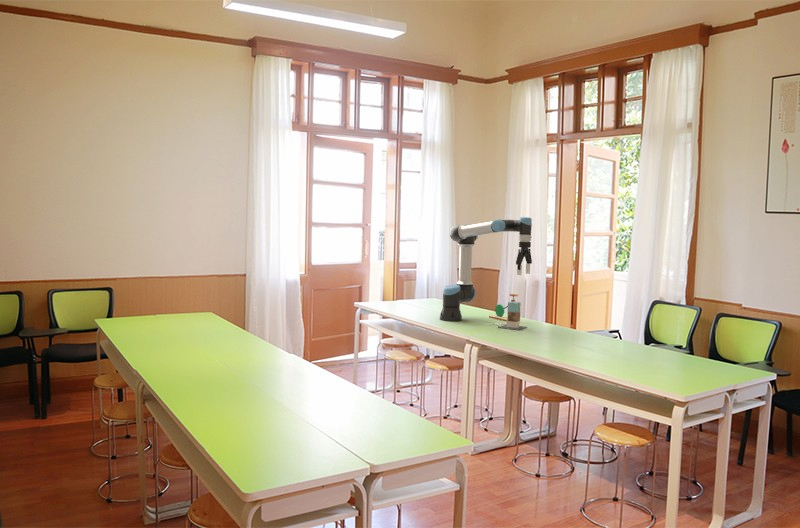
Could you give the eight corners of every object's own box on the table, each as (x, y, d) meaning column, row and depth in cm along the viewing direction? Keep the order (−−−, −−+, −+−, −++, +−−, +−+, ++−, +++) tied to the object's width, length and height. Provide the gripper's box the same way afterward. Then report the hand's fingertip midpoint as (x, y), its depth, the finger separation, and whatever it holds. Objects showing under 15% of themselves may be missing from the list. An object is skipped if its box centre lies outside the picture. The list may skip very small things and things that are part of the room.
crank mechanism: (519, 322, 450) (520, 294, 448) (512, 323, 446) (513, 294, 444) (495, 316, 470) (496, 290, 469) (488, 317, 467) (489, 290, 465)
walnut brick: (507, 320, 427) (507, 311, 426) (510, 319, 431) (511, 310, 431) (516, 321, 423) (516, 312, 423) (519, 320, 428) (520, 311, 427)
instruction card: (493, 324, 438) (493, 323, 438) (498, 323, 444) (498, 322, 444) (507, 326, 432) (507, 325, 432) (511, 324, 438) (511, 324, 438)
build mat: (498, 327, 426) (498, 320, 425) (507, 324, 437) (507, 318, 437) (518, 330, 418) (518, 323, 418) (527, 327, 430) (527, 320, 429)
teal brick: (507, 311, 426) (507, 302, 425) (511, 310, 431) (511, 301, 430) (516, 312, 422) (516, 303, 422) (520, 311, 428) (520, 302, 427)
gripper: (522, 242, 412) (521, 276, 413) (537, 241, 432) (536, 273, 434) (511, 241, 416) (510, 275, 418) (527, 240, 437) (525, 272, 438)
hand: (523, 274), depth 426 cm, fingers open, 13 cm apart
